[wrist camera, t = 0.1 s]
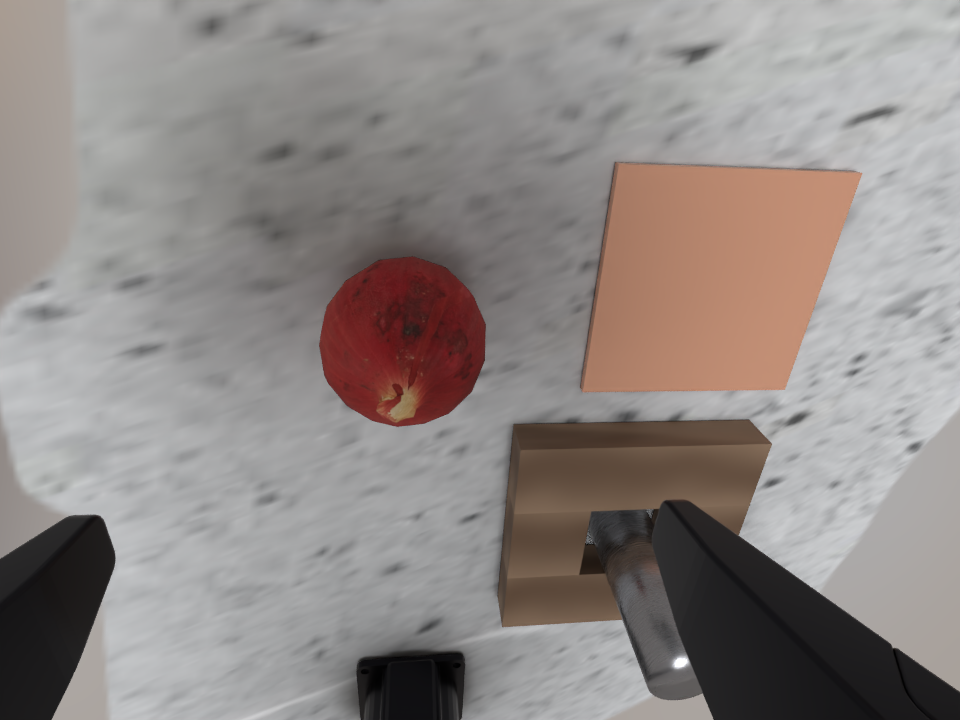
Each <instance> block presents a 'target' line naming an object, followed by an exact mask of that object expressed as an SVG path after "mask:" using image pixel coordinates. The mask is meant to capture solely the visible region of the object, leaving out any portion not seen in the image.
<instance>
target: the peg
mask: <svg viewBox="0 0 960 720" xmlns="http://www.w3.org/2000/svg"><path fill="white" fill-rule="evenodd" d="M653 529H654V525H653V523H652V521H651V519H650V517H649V515H648V513H647V511H646V509H640V510H614V511H591V515H590V521H589V526H588V530H589V532H590V535H591V538H592V540H593V543H594V546H595V548H596V551H597V554H598V556H599V559H600V562H601V564H602V567H603V570H604V572H605V575H606V578H607V580H608V583H609V586H610V588H611V591H612V594H613V596H614V599H615V602H616V604H617V607H618V610H619V612H620V615H621V618H622V620H623V623H624V626H625V628H626V631H627V634H628V636H629V639H630V642H631V644H632V647H633V650H634V652H635V655H636V658H637V660H638V663H639V666H640V668H641V671H642V674H643V676H644V679H645V682H646V684H647V687H648V689H649V691H650V692H651V693H652V694H653V695H654V696H656V697H658V698H661V699H666V700H682V699H687V698H691V697H694V696H697V695H699V694H702V693H703V692H702V690H701V687H700V685H699V683H698V680H697V678H696V675H695V673H694V670H693V668H692V666H691V663H690V661H689V658H688V656H687V654H686V651H685V649H684V646H683V644H682V641H681V638H680V636H679V633H678V630H677V627H676V624H675V621H674V618H673V614H672V611H671V608H670V604H669V601H668V598H667V594H666V591H665V587H664V584H663V581H662V577H661V574H660V571H659V567H658V564H657V561H656V557H655V554H654V550H653V546H652V533H653Z"/></svg>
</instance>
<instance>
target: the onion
mask: <svg viewBox="0 0 960 720" xmlns="http://www.w3.org/2000/svg"><path fill="white" fill-rule="evenodd" d="M485 332H486V324H485V322H484V319H483V317H482V315H481V313H480V310H479V308H478V306H477V303H476V301H475V299H474V297H473V295H472V294H471V292H470V291H469V290H468V289H467V288H466V287H465V286H464V285H463V284H462V283H461V282H460V281H459V280H458V279H457V278H456V277H455V276H454V275H453V274H452V273H451V272H450V271H449V270H448V269H447V268H446V267H443V266H440V265H437V264H434V263H431V262H428V261H425V260H422V259H419V258H416V257H413V256H412V257H403V258H394V259H385V260H378V261H377V262H375V263H374V264H372V265H370V266H369V267H367V268H366V269H364V270H362V271H361V272H359V273H358V274H356V275H354V276H353V277H351V278H350V279H348V280H346V281H345V282H344V284H343V285H342V287H341V288H340V289H339V291H338V292H337V293H336V295H335V296H334V297H333V299H332V300H331V301H330V303H329V304H328V305H327V308H326V312H325V316H324V321H323V326H322V331H321V336H320V343H319V347H320V353H321V358H322V364H323V370H324V376H325V378H326V380H327V382H328V384H329V385H330V386H331V387H332V388H333V390H334V391H335V392H336V393H337V394H338V396H339V397H340V398H341V399H342V401H343V402H344V403H345V404H346V405H347V406H348V407H350V408H351V409H353V410H355V411H356V412H358V413H360V414H362V415H363V416H365V417H367V418H368V419H370V420H372V421H375V422H379V423H384V424H388V425H392V426H396V427H399V426H408V425H416V424H424V423H427V422H429V421H431V420H434V419H436V418H439V417H441V416H444V415H446V414H449V413H450V412H451V411H452V410H453V409H454V408H455V407H456V406H457V405H458V404H460V403H461V402H462V401H463V400H464V399H465V398H466V397H467V396H468V395H469V394H470V393H471V392H472V390H473V388H474V385H475V383H476V380H477V378H478V376H479V373H480V371H481V368H482V366H483V364H484V361H485Z"/></svg>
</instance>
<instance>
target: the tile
mask: <svg viewBox="0 0 960 720" xmlns="http://www.w3.org/2000/svg"><path fill="white" fill-rule="evenodd" d="M861 175H862V173H860V172H856V171H832V170H806V169H779V168H752V167H726V166H699V165H672V164H646V163H619V162H616V163H615V169H614V176H613V182H612V188H611V195H610V201H609V208H608V214H607V220H606V227H605V233H604V240H603V246H602V253H601V259H600V265H599V272H598V278H597V285H596V291H595V297H594V304H593V310H592V317H591V323H590V329H589V336H588V342H587V349H586V355H585V361H584V368H583V374H582V381H581V387H580V388H581V390H582V392H635V391H716V390H785V387H786V385H787V382H788V379H789V376H790V373H791V371H792V368H793V365H794V362H795V359H796V357H797V354H798V351H799V348H800V345H801V343H802V340H803V337H804V334H805V331H806V329H807V326H808V323H809V320H810V318H811V315H812V312H813V309H814V306H815V304H816V301H817V298H818V295H819V292H820V290H821V287H822V284H823V281H824V278H825V276H826V273H827V270H828V267H829V265H830V262H831V259H832V256H833V253H834V251H835V248H836V245H837V242H838V239H839V237H840V234H841V231H842V228H843V225H844V223H845V220H846V217H847V214H848V212H849V209H850V206H851V203H852V200H853V198H854V195H855V192H856V189H857V186H858V184H859V181H860V178H861Z"/></svg>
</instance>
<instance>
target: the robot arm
mask: <svg viewBox="0 0 960 720" xmlns="http://www.w3.org/2000/svg"><path fill="white" fill-rule="evenodd" d="M652 546H653V550H654V554H655V557H656V561H657V564H658V567H659V571H660V574H661V577H662V581H663V584H664V587H665V591H666V594H667V598H668V601H669V604H670V608H671V611H672V614H673V618H674V621H675V624H676V627H677V630H678V633H679V636H680V638H681V641H682V644H683V646H684V649H685V651H686V654H687V656H688V658H689V661H690V663H691V666H692V668H693V670H694V673H695V675H696V678H697V680H698V683H699V685H700V687H701V690H702V692H703V695H704V697H705V700H706V702H707V704H708V707H709V709H710V712H711V714H712V716H713V719H714V720H960V692H959V691H958V690H956V689H955V688H953V687H952V686H951V685H949V684H948V683H946V682H945V681H943V680H942V679H940V678H939V677H937V676H936V675H935V674H933V673H932V672H930V671H929V670H927V669H926V668H924V667H923V666H922V665H920V664H919V663H917V662H916V661H915V660H913V659H912V658H910V657H909V656H908V655H906V654H905V653H903V652H902V651H900V650H899V649H897V648H892V645H891V644H890V643H889V642H888V641H886V640H885V639H883V638H882V637H880V636H879V635H878V634H876V633H875V632H873V631H872V630H871V629H869V628H867V627H866V626H865V625H863V624H862V623H861V622H859V621H858V620H856V619H855V618H854V617H852V616H851V615H850V614H848V613H847V612H845V611H844V610H842V609H841V608H840V607H838V606H837V605H835V604H834V603H833V602H831V601H830V600H828V599H827V598H826V597H824V596H823V595H821V594H820V593H819V592H817V591H816V590H814V589H813V588H812V587H810V586H809V585H807V584H806V583H804V582H803V581H802V580H800V579H799V578H797V577H796V576H795V575H793V574H792V573H790V572H789V571H788V570H786V569H785V568H783V567H782V566H781V565H779V564H778V563H776V562H775V561H773V560H772V559H771V558H769V557H768V556H766V555H765V554H764V553H762V552H761V551H759V550H758V549H757V548H755V547H754V546H752V545H751V544H750V543H748V542H747V541H745V540H744V539H743V538H741V537H740V536H738V535H737V534H735V533H734V532H733V531H731V530H730V529H728V528H727V527H726V526H724V525H723V524H721V523H720V522H719V521H717V520H716V519H714V518H713V517H712V516H710V515H709V514H707V513H706V512H704V511H703V510H702V509H700V508H699V507H697V506H696V505H695V504H693V503H692V502H690V501H689V500H686V499H668V500H664V501H663V502H662V503H661V505H660V508H659V512H658V515H657V519H656V522H655V526H654V529H653V533H652ZM114 566H115V551H114V548H113V545H112V542H111V539H110V536H109V533H108V530H107V527H106V524H105V522H104V520H103V518H102V517H100V516H99V515H73V516H69V517H66V518H65V519H63V520H61V521H59V522H58V523H56V524H55V525H53V526H52V527H50V528H48V529H47V530H45V531H44V532H42V533H40V534H39V535H38V536H36V537H34V538H33V539H31V540H29V541H28V542H26V543H25V544H23V545H21V546H20V547H18V548H17V549H15V550H13V551H12V552H10V553H9V554H7V555H6V556H4V557H3V558H1V559H0V720H52V718H53V716H54V713H55V711H56V709H57V707H58V705H59V703H60V701H61V699H62V697H63V695H64V693H65V691H66V689H67V687H68V685H69V683H70V681H71V678H72V676H73V674H74V672H75V670H76V668H77V665H78V663H79V660H80V658H81V655H82V653H83V651H84V648H85V645H86V642H87V640H88V637H89V634H90V632H91V629H92V626H93V624H94V621H95V618H96V616H97V613H98V610H99V607H100V605H101V602H102V599H103V597H104V594H105V591H106V589H107V586H108V583H109V581H110V578H111V575H112V572H113V570H114ZM464 674H465V659H464V656H463V655H461V654H449V655H434V656H419V657H404V658H389V659H374V660H363V661H360V662H359V663H358V664H357V683H358V694H359V705H360V717H361V720H461V718H462V708H463V691H464Z"/></svg>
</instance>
